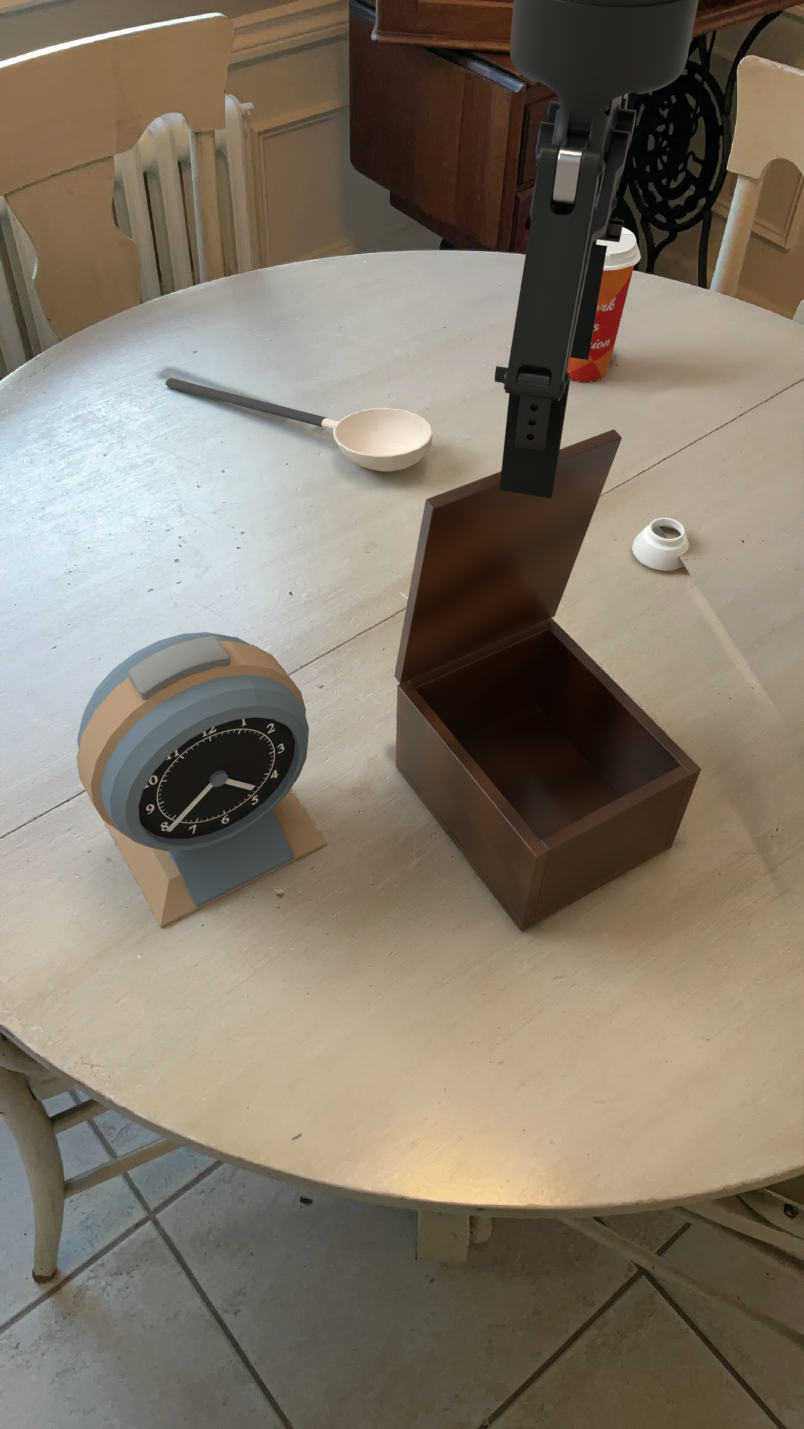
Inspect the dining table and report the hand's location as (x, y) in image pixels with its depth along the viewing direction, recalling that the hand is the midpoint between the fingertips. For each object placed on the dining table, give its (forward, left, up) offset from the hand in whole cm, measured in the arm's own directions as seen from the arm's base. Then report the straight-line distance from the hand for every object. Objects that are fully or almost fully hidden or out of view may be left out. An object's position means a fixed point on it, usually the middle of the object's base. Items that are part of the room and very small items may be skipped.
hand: (547, 417), depth 58 cm
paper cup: (-24, -46, -28) cm, 59 cm away
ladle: (+8, -42, -28) cm, 51 cm away
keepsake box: (0, +7, -27) cm, 28 cm away
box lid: (+2, +1, -10) cm, 10 cm away
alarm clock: (+22, +4, -28) cm, 36 cm away
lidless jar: (-20, -16, -28) cm, 37 cm away
